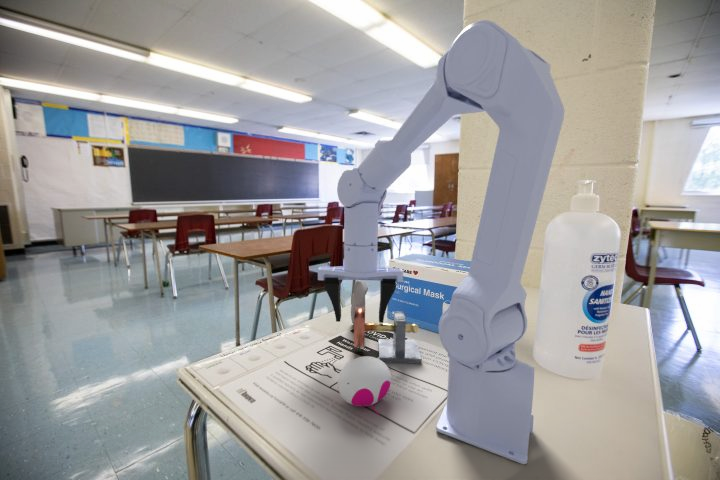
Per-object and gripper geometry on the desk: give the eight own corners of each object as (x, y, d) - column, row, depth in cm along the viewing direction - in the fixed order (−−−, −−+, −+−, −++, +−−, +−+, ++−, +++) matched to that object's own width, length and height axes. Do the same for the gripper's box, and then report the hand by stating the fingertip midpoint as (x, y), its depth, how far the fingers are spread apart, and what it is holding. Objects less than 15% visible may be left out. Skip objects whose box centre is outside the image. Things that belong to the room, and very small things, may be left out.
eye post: (415, 343, 58) (416, 309, 57) (421, 363, 51) (423, 324, 50) (378, 343, 58) (379, 308, 57) (379, 362, 51) (380, 323, 51)
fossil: (363, 332, 63) (364, 284, 62) (347, 330, 64) (347, 283, 62) (368, 321, 69) (369, 277, 67) (353, 319, 69) (353, 276, 68)
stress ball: (346, 440, 39) (359, 420, 35) (326, 380, 44) (335, 356, 40) (396, 419, 42) (413, 399, 38) (372, 365, 47) (384, 342, 43)
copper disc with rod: (415, 338, 58) (416, 303, 57) (421, 356, 51) (422, 317, 50) (355, 336, 58) (355, 302, 57) (353, 354, 51) (354, 315, 51)
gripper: (400, 241, 56) (398, 312, 58) (322, 239, 57) (322, 310, 58) (405, 247, 49) (402, 328, 51) (315, 245, 50) (315, 325, 51)
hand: (359, 319), depth 54 cm, fingers open, 7 cm apart
